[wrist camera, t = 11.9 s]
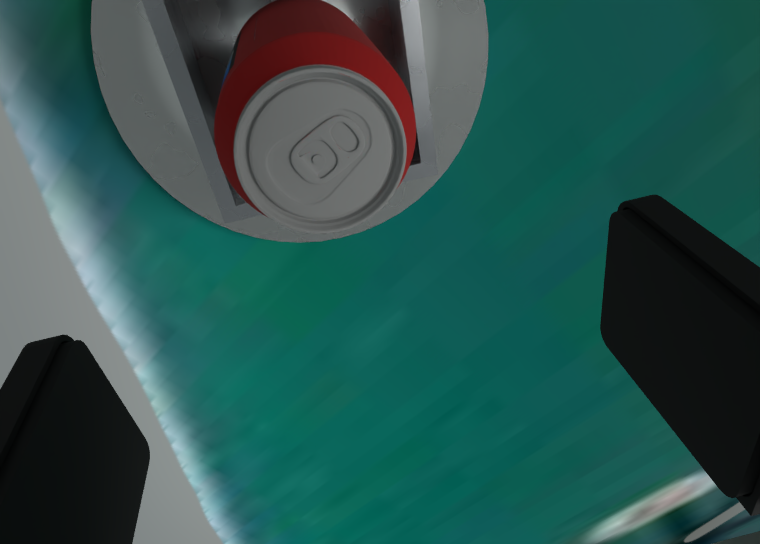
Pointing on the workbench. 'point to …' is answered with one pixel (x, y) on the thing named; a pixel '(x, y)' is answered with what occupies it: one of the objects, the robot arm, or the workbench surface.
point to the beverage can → (312, 119)
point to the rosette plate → (206, 73)
